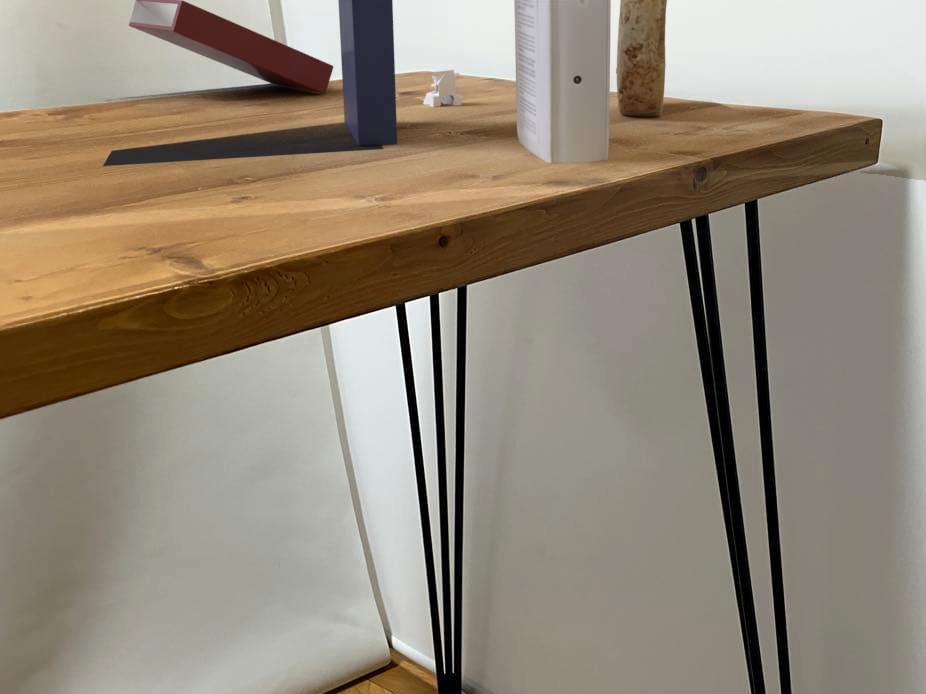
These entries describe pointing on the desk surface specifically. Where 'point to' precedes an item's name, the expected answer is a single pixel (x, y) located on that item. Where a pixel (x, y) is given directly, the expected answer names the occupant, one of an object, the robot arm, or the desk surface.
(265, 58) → the burgundy book
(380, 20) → the navy book
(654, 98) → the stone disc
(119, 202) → the desk surface
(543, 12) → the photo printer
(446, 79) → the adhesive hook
